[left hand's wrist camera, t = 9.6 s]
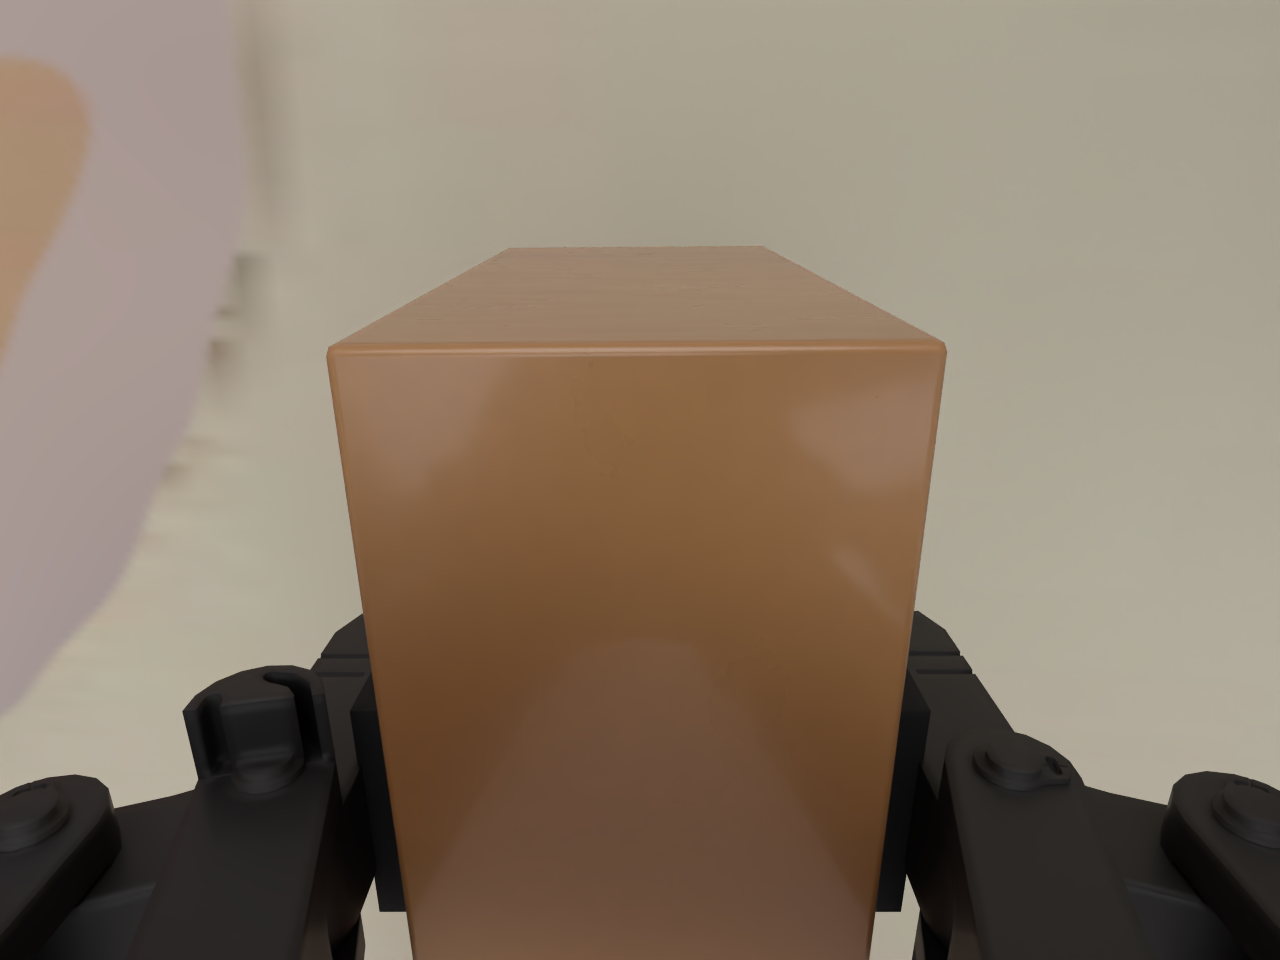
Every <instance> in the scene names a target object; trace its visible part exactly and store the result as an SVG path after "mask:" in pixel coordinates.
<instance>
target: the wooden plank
mask: <svg viewBox="0 0 1280 960" xmlns="http://www.w3.org/2000/svg"><path fill="white" fill-rule="evenodd" d="M946 356H947V350H946V347H945V343H944V342H942V341H941V340H939V339H937V338H935V337H933V336H931V335H929V334H927V333H925V332H924V331H922V330H920V329H918V328H916V327H914V326H912V325H910V324H908V323H907V322H905V321H903V320H901V319H899V318H897V317H895V316H893V315H891V314H890V313H888V312H886V311H884V310H882V309H880V308H878V307H876V306H874V305H873V304H871V303H869V302H867V301H865V300H863V299H861V298H859V297H858V296H856V295H854V294H852V293H850V292H848V291H846V290H844V289H842V288H841V287H839V286H837V285H835V284H833V283H831V282H829V281H827V280H825V279H824V278H822V277H820V276H818V275H816V274H814V273H812V272H810V271H808V270H807V269H805V268H803V267H801V266H799V265H797V264H795V263H793V262H791V261H790V260H788V259H786V258H784V257H782V256H780V255H778V254H776V253H775V252H773V251H771V250H769V249H767V248H765V247H763V246H721V247H579V248H509V249H506V250H505V251H503V252H501V253H499V254H497V255H495V256H494V257H492V258H490V259H488V260H486V261H484V262H483V263H481V264H479V265H477V266H475V267H474V268H472V269H470V270H468V271H466V272H464V273H463V274H461V275H459V276H457V277H455V278H454V279H452V280H450V281H448V282H446V283H444V284H443V285H441V286H439V287H437V288H435V289H434V290H432V291H430V292H428V293H426V294H424V295H423V296H421V297H419V298H417V299H415V300H414V301H412V302H410V303H408V304H406V305H404V306H403V307H401V308H399V309H397V310H395V311H394V312H392V313H390V314H388V315H386V316H384V317H383V318H381V319H379V320H377V321H375V322H374V323H372V324H370V325H368V326H366V327H364V328H363V329H361V330H359V331H357V332H355V333H353V334H352V335H350V336H348V337H346V338H344V339H343V340H341V341H339V342H337V343H335V344H333V345H332V346H330V347H329V348H328V352H327V356H326V358H327V365H328V372H329V379H330V386H331V393H332V400H333V407H334V414H335V421H336V428H337V435H338V442H339V448H340V455H341V462H342V469H343V476H344V483H345V490H346V497H347V504H348V511H349V518H350V525H351V532H352V539H353V546H354V553H355V560H356V566H357V573H358V580H359V587H360V594H361V601H362V608H363V615H364V622H365V629H366V636H367V643H368V650H369V657H370V664H371V671H372V678H373V684H374V691H375V698H376V705H377V712H378V719H379V726H380V733H381V740H382V747H383V754H384V761H385V768H386V775H387V782H388V789H389V796H390V802H391V809H392V816H393V823H394V830H395V837H396V844H397V851H398V858H399V865H400V872H401V879H402V886H403V893H404V900H405V907H406V914H407V920H408V927H409V934H410V941H411V948H412V955H413V960H869V957H870V949H871V942H872V934H873V926H874V918H875V910H876V903H877V895H878V887H879V879H880V871H881V864H882V856H883V848H884V840H885V832H886V825H887V817H888V809H889V801H890V793H891V785H892V778H893V770H894V762H895V754H896V746H897V739H898V731H899V723H900V715H901V707H902V700H903V692H904V684H905V676H906V668H907V661H908V653H909V645H910V637H911V629H912V621H913V614H914V606H915V598H916V590H917V582H918V575H919V567H920V559H921V551H922V543H923V536H924V528H925V520H926V512H927V504H928V496H929V489H930V481H931V473H932V465H933V457H934V450H935V442H936V434H937V426H938V418H939V411H940V403H941V395H942V387H943V379H944V372H945V364H946Z"/></svg>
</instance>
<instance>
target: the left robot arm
mask: <svg viewBox="0 0 1280 960" xmlns="http://www.w3.org/2000/svg"><path fill="white" fill-rule="evenodd" d="M182 712H183V716H184V720H185V724H186V729H187V733H188V737H189V741H190V746H191V750H192V754H193V758H194V762H195V767H196V771H197V775H198V782H197V784H196V787H195V789H194V790H191V791H188V792H184V793H181V794H177V795H174V796H170V797H165V798H160V799H156V800H151V801H147V802H142V803H137V804H133V805H128V806H124V807H119V808H115V809H114V807H113V803H112V800H111V796H110V793H109V789H108V788H107V787H106V786H105V785H104V784H103V783H101V782H100V781H99V780H98V779H97V778H92V777H87V776H81V775H67V776H58V777H49V778H45V779H41V780H37V781H34V782H32V783H27V784H24V785H21V786H19V787H16V788H14V789H12V790H10V791H8V792H6V793H4V794H2V795H0V960H364V953H365V939H364V932H363V925H362V919H361V913H360V912H361V910H362V907H363V905H364V902H365V899H366V897H367V894H368V891H369V889H370V886H371V884H372V881H373V878H374V877H375V884H376V890H377V897H378V904H379V910H380V912H406V907H405V900H404V893H403V886H402V879H401V872H400V865H399V858H398V851H397V844H396V837H395V830H394V823H393V816H392V809H391V802H390V796H389V789H388V782H387V775H386V768H385V761H384V754H383V747H382V740H381V733H380V726H379V719H378V712H377V705H376V698H375V691H374V684H373V678H372V671H371V664H370V657H369V650H368V643H367V636H366V629H365V622H364V615H363V614H361V615H360V616H358V617H357V618H355V619H354V620H353V621H351V622H350V623H348V624H347V625H345V626H344V627H343V628H341V629H340V630H338V631H337V632H336V633H335V634H334V636H333V637H332V638H331V640H330V641H329V643H328V644H327V646H326V647H325V649H324V650H323V652H322V653H321V658H318V659H317V661H316V662H315V664H314V665H313V667H312V668H311V670H308V669H304V668H301V667H297V666H293V665H285V666H265V667H260V668H255V669H250V670H246V671H241V672H239V673H236V674H234V675H231V676H229V677H226V678H224V679H221V680H219V681H217V682H215V683H213V684H212V685H210V686H209V687H207V688H206V689H204V690H203V691H201V692H200V693H198V694H197V695H195V696H194V698H193V699H192V700H191V701H190V703H189V704H188V705H187V706H186V708H185V709H184V710H183V711H182ZM906 874H907V876H908V878H909V881H910V884H911V886H912V889H913V891H914V894H915V897H916V899H917V902H918V904H919V907H920V913H919V919H918V925H917V931H916V938H915V944H914V950H913V956H912V960H1280V791H1279V790H1277V789H1275V788H1273V787H1271V786H1269V785H1267V784H1265V783H1262V782H1259V781H1256V780H1253V779H1252V780H1251V779H1248V778H1246V777H1242V776H1238V775H1235V774H1228V773H1219V772H1210V771H1204V772H1199V773H1193V774H1187V775H1184V776H1183V777H1182V778H1181V779H1180V780H1179V781H1177V782H1176V783H1175V784H1174V785H1173V788H1172V792H1171V795H1170V798H1169V802H1168V805H1163V804H1159V803H1154V802H1150V801H1145V800H1140V799H1136V798H1131V797H1126V796H1122V795H1117V794H1113V793H1108V792H1105V791H1101V790H1098V789H1094V788H1091V787H1087V786H1085V785H1084V783H1083V780H1082V778H1081V777H1080V775H1079V774H1078V772H1077V771H1076V770H1075V768H1074V767H1073V765H1072V764H1071V762H1070V761H1069V760H1067V759H1066V758H1065V757H1063V756H1062V755H1061V754H1060V753H1058V752H1057V751H1056V750H1054V749H1053V748H1052V747H1050V746H1049V745H1046V744H1044V743H1042V742H1040V741H1038V740H1036V739H1033V738H1031V737H1029V736H1027V735H1024V734H1020V733H1016V732H1014V731H1013V729H1012V728H1011V726H1010V725H1009V723H1008V722H1007V720H1006V719H1005V717H1004V716H1003V714H1002V713H1001V711H1000V710H999V708H998V707H997V705H996V704H995V703H994V701H993V700H992V698H991V697H990V695H989V694H988V692H987V691H986V689H985V688H984V686H983V685H982V683H981V682H980V680H979V679H978V677H977V676H976V674H972V669H971V667H970V666H969V664H968V663H967V661H966V660H965V658H964V657H963V656H960V651H959V649H958V648H957V646H956V645H955V643H954V642H953V640H952V639H951V638H950V636H949V635H948V633H947V632H946V630H945V629H943V628H942V627H941V626H939V625H938V624H936V623H935V622H933V621H932V620H930V619H929V618H928V617H926V616H925V615H923V614H922V613H920V612H919V611H914V614H913V621H912V629H911V637H910V645H909V653H908V661H907V668H906V676H905V684H904V692H903V700H902V707H901V715H900V723H899V731H898V739H897V746H896V754H895V762H894V770H893V778H892V785H891V793H890V801H889V809H888V817H887V825H886V832H885V840H884V848H883V856H882V864H881V871H880V879H879V887H878V895H877V903H876V910H875V912H901V907H902V900H903V894H904V887H905V880H906Z"/></svg>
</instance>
